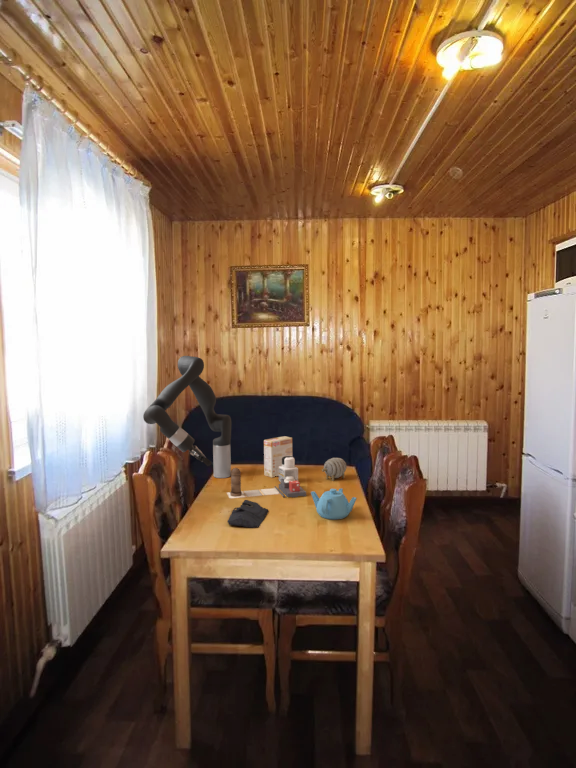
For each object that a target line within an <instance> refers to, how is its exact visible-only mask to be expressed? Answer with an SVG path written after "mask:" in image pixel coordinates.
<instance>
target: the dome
mask: <svg viewBox="0 0 576 768" xmlns="http://www.w3.org/2000/svg"><path fill="white" fill-rule="evenodd" d="M289 481H295V479H294V477H292V476H287V477H286V479H284V482H285V483H289Z"/></svg>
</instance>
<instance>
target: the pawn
mask: <svg viewBox="0 0 576 768" xmlns="http://www.w3.org/2000/svg"><path fill="white" fill-rule="evenodd" d="M241 473H242V472H241V469H240V468H238V467H233V468H231V476H230V486H231V487H230V488H231V489H230V495H231V496H235V497H236V496H241V495H242V492H243V491H242V487H241V486H242V483H241V482H242V481H241V479H242V475H241ZM241 491H242V492H241Z"/></svg>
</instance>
